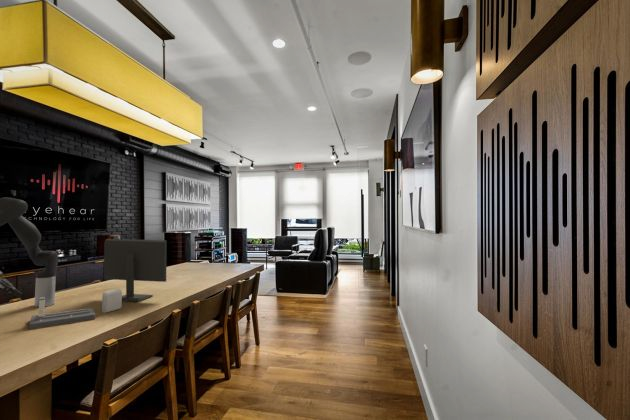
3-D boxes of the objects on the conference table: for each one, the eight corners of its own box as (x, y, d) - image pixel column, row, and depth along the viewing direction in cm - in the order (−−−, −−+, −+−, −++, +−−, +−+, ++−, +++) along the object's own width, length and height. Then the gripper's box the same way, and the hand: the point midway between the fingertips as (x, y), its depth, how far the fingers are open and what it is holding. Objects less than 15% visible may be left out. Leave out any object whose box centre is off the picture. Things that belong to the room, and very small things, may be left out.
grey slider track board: (31, 320, 161) (31, 313, 161) (92, 311, 177) (92, 305, 177) (29, 329, 148) (29, 322, 148) (94, 319, 165) (95, 312, 165)
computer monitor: (170, 297, 213) (172, 239, 214) (156, 303, 197) (158, 241, 198) (112, 294, 217) (115, 238, 219) (94, 300, 201) (96, 239, 203)
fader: (37, 317, 158) (38, 297, 158) (45, 316, 160) (46, 296, 160) (37, 319, 154) (38, 299, 155) (44, 318, 156) (45, 298, 157)
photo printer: (105, 313, 175) (105, 291, 175) (100, 312, 177) (101, 290, 177) (122, 308, 184) (123, 288, 185) (118, 307, 186) (119, 287, 186)
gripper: (-9, 268, 141) (26, 291, 149) (-4, 265, 152) (28, 287, 159) (-26, 281, 138) (10, 304, 145) (-20, 277, 148) (14, 298, 155)
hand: (20, 295), depth 152 cm, fingers closed
